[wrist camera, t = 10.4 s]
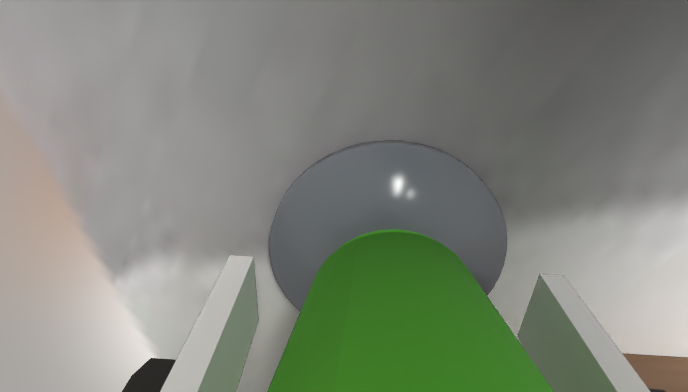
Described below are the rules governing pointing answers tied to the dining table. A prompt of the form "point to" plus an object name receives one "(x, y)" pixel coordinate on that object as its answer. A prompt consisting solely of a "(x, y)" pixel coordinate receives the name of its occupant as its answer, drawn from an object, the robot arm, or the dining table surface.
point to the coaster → (385, 210)
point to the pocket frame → (661, 371)
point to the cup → (401, 325)
